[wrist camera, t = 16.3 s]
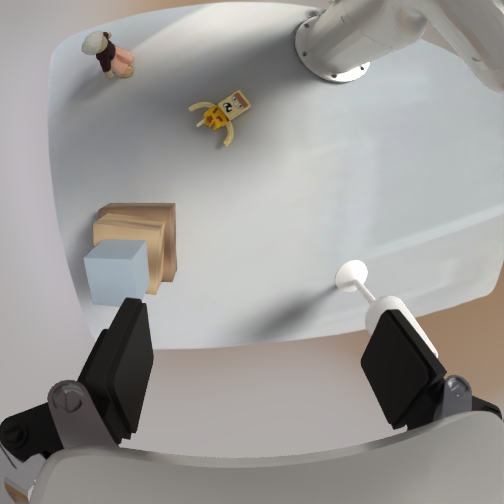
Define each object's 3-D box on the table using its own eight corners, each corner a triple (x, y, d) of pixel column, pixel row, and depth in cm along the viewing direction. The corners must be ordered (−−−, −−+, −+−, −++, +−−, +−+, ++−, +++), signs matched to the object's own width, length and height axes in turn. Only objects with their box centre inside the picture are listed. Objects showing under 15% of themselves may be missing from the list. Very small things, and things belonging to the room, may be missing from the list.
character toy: (182, 109, 32) (229, 75, 31) (185, 112, 35) (229, 81, 34) (217, 153, 35) (264, 120, 33) (218, 152, 38) (261, 122, 36)
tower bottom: (111, 202, 39) (98, 210, 34) (175, 202, 40) (169, 210, 36) (117, 265, 43) (106, 278, 38) (177, 267, 44) (172, 282, 40)
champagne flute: (341, 298, 49) (401, 392, 27) (330, 270, 47) (398, 365, 25) (370, 281, 49) (443, 365, 26) (362, 253, 46) (445, 334, 24)
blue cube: (103, 239, 31) (83, 257, 26) (146, 240, 32) (131, 259, 26) (109, 280, 33) (93, 304, 28) (150, 283, 34) (138, 308, 28)
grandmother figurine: (141, 76, 32) (110, 53, 20) (119, 87, 32) (81, 70, 20) (129, 40, 29) (98, 10, 17) (108, 51, 29) (71, 26, 17)
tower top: (107, 213, 35) (93, 223, 30) (166, 220, 36) (157, 231, 32) (108, 269, 38) (96, 285, 33) (162, 277, 39) (155, 295, 35)
